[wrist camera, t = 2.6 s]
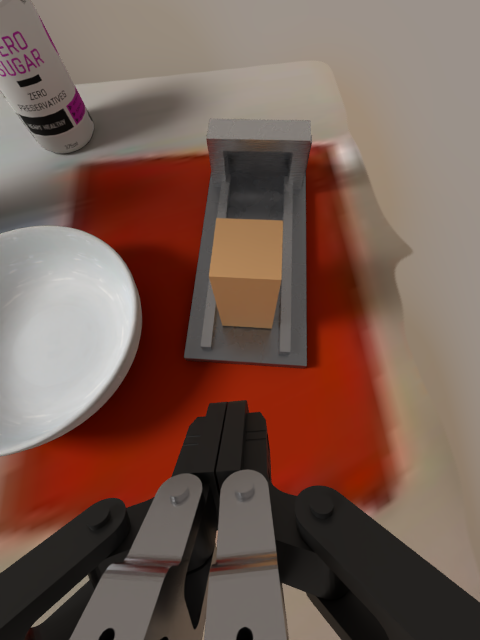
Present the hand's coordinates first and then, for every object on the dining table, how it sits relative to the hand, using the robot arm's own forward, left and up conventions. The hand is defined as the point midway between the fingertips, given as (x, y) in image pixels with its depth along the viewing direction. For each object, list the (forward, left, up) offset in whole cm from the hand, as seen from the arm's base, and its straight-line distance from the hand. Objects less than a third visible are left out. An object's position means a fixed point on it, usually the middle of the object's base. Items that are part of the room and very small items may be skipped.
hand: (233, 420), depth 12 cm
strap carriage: (-12, +9, -15) cm, 22 cm away
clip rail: (-15, +11, -17) cm, 25 cm away
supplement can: (-47, 0, -17) cm, 50 cm away
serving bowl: (-17, -12, -17) cm, 27 cm away
